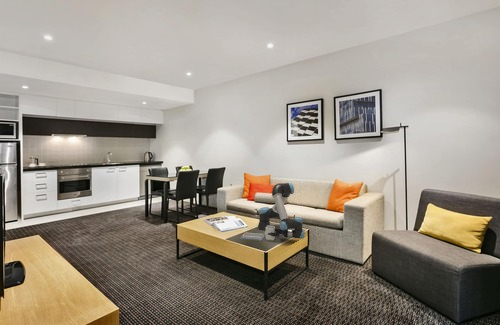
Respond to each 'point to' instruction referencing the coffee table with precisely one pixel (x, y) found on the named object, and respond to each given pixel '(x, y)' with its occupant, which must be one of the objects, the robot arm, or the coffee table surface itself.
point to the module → (270, 229)
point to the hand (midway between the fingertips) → (266, 231)
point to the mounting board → (253, 236)
